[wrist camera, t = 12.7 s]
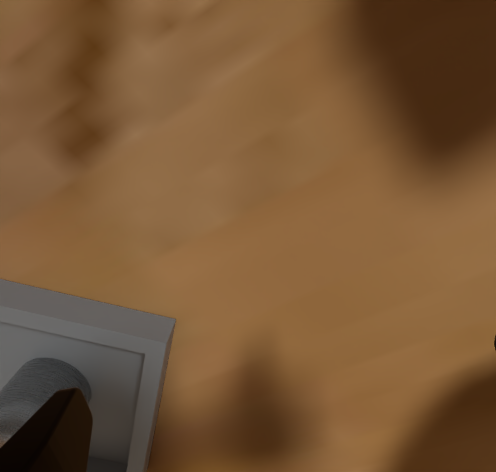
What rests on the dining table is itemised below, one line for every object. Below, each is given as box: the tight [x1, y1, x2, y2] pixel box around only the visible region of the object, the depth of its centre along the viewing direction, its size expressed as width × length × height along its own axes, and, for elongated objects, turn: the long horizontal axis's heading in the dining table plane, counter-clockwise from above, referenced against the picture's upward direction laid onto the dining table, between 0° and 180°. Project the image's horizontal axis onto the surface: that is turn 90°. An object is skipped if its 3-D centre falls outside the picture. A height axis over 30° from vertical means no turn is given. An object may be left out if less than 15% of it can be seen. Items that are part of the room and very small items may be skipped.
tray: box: [0, 279, 176, 472], centre depth 23 cm, size 13×13×2 cm
